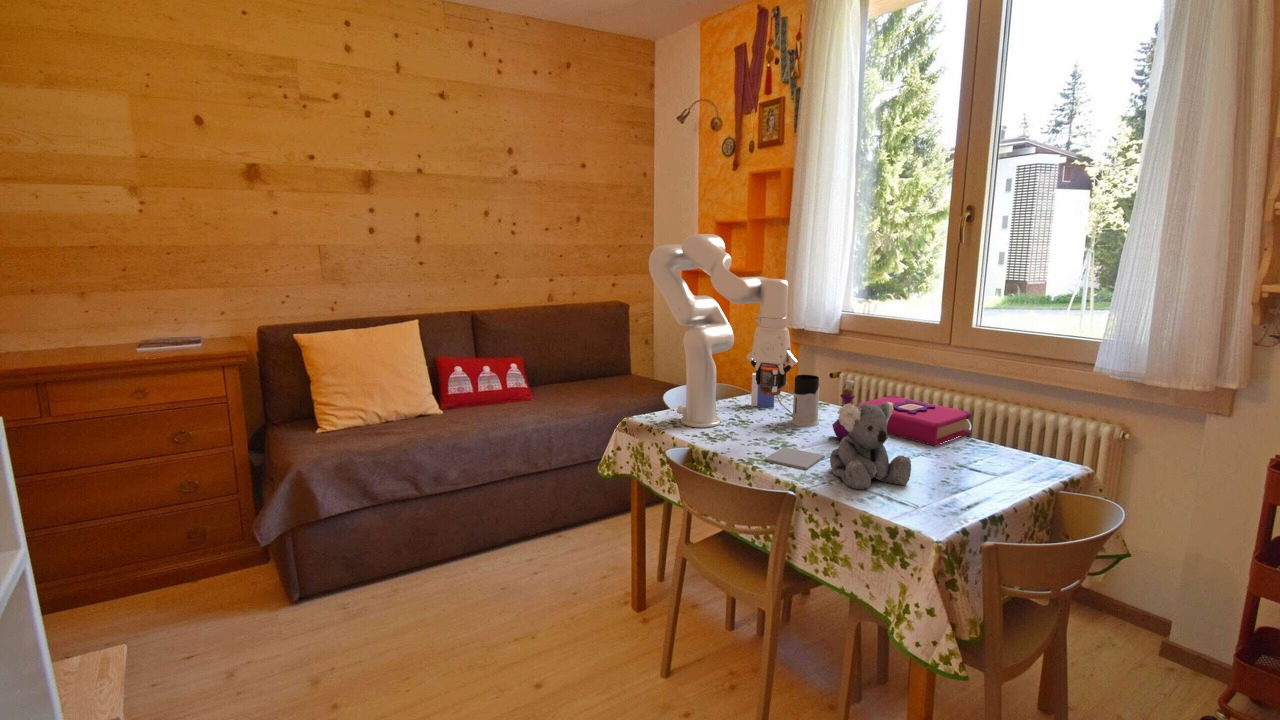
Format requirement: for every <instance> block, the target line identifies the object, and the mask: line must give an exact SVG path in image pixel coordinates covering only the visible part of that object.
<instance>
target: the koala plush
mask: <svg viewBox="0 0 1280 720" xmlns="http://www.w3.org/2000/svg"><path fill="white" fill-rule="evenodd" d="M893 409H894V408H893V403H890V402H888V401H887V402H883V403H882V404H881V405H879V406H876V405H873V404H869V405H868V404H863V405H860V406H856V404H853V403H852V402H851V403H850V404H849V403H848V404H846V405H844V404H843V405H842V407H839V409H838V411H837V412H836V413H837V414H838V417H837V420H839V422H841V423H840V424H841V425H843V426H844V427H845V429H846V430H847V431H848V433H849V434H848V435H847V436H846V437H844V438H843V439H842V440H841V441H840V443H839V445H838V448H835V449H833V450H832V451H831V454H830V456H829V463H830V464H829V465H830V469H831V472H832V473H833V476H836V477H839V478H841V481H842V482H843V483H844V484H845V486H848V487H850V488H852V489H855V488H856V489H855V490H858V489H860V488H861V489H860V490H864V489H863V488H866V489H868V488H869V487H871V484H872V483H871V482H872V479H875V478H876V479H875V480H877V479H878V480H879V481H880V480H882V481H881V482H884V481H886V482H885V483H887V482H888V484H893V483H894V485H896V484H901V485H902V486H904V485H907V484H908V482H909V481H910V478H911V473H912V460H911V459H910V457H909V456H905V455H897V456H895V457H894V458H893V459H892V460H891V461H890V460H889V455H888V451H887V449H886V447H885V445H884V444H885V442H886V441H887V439H888V433H887V430H886V429H887V424H888V420H889V418H890V416H891V415H892V411H893ZM889 461H890V462H889ZM873 477H874V478H873ZM901 485H900V486H901Z"/></svg>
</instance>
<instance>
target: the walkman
mask: <svg viewBox="0 0 1280 720" xmlns="http://www.w3.org/2000/svg"><path fill="white" fill-rule="evenodd" d="M750 383H751V396H750V397H751V401H750V402H751V405H750V407H751V406H759V407H758V408H774V407H775V395H764V394H762V393H760V384H759V385H758V384H757V381H756V372H753V373H752V374H751V382H750Z"/></svg>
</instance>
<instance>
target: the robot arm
mask: <svg viewBox="0 0 1280 720" xmlns="http://www.w3.org/2000/svg"><path fill="white" fill-rule="evenodd" d="M725 245H726V244H725V242H724V240H723V239H722V238H721V237H720V236H719V235H717V234H714V233H695V234H690V235H688V236H687V237H686V238H684V239H683V241H682V243H680V244H679V243H678V244H677V243H676V244H674V243H673V244H664V245H663V244H662V245H660V246H656V248H654V249H653V250H652V251H651V253H650V255H649V258H648V259H649V260H648V269H649V273H650V276H651V279H652V281H653V283H654V284H655V285H656V287H657V288H658V290H659V292H661V295H662V296H663V298H664V300H665V302H666V304H667V306H668V308H669V310H670V311H671V314H672V316H673V318H674V319H675V321H676V322H677V324H678V325H680V326H682V327H690V328H689V329H687V330H686V331H685V333H684V336H683V348H684V353H685V354H684V355H685V365H686V366H685V367H686V368H685V369H686V371H685V372H686V373H685V374H686V381H685V382H686V386H685V388H686V389H685V390H686V392H685V396H686V397H685V399H686V400H685V402H686V403H685V404H686V405H685V406H682V405H678V406H677V409H676V413H677V414H682V417H681V419H680V421H681V424H683V425H684V426H688V427H692V428H712V427H716V426H719V425H720V424H721V418H720V417H719V416H717V411H716V409H717V367H716V363H715V360H714V358H713V354H720V353H723V352H727V351H728V350H730V349H731V348H733V345H734V342H735V334H734V331H733V328H732V327H731V324H730V322H728V319H727V317H726V315H725V313H724V311H723V310H722V308H721V306H720V305H719V303H718V302H717V301H716V300H715V298H713V297H711V296H710V295H705V294H704V295H694V294H693V293H692V291H691V290H690V288H689V286H688V284H687V282H686V280H684V279H683V278H682V277H681V276H679V274H677V273H676V271H679V272H680V271H691V270H696V269H698V268H699V269H700V270H701V271H703V272H704V273H706V275H708V276H710V282H711V285H712V286H713V288H714V290H715V291H716V292H717V293H718V294H719V295H721V296H722V297H723V298H725V299H726V300H727V301H729V302H730V303H732V304H735V305H747V304H757V303H759V316H758V317H756V318H755V323H758V325H759V326H756V328H755V332H754V337H753V343H752V350H751V351H750V352H749V353H748V354H747V355H746V359H747V360H748V361H749V363H750V364H751V366H752V367H753V368H754V371H755V373H756V381H757V384H758V385H759V384H760V374H761V363H768V364H776V365H778V367H779V370H780V374H778V388H781V389H782V388H783V387H785V385H787V383H786V382H787V374H788V373H789V372H790V371H791V370H792V369H793V368H794V367H795V366H797V364H798V360H797V359H796V358H795V357H794V355H793V354H792V352H791V337H790V331H789V328H787V325H788V324H787V323H788V321H787V320H788V303H789V301H788V300H789V283H788V280H785V279H781V278H769V277H765V276H745V277H740V276H737V275H736V274H734V273H733V272H732V271H730V268H731V267H732V257H731V255H730V254H729V253H727V252H726V246H725ZM787 363H789V364H787Z"/></svg>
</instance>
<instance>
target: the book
mask: <svg viewBox="0 0 1280 720" xmlns="http://www.w3.org/2000/svg"><path fill="white" fill-rule="evenodd" d="M887 401H888V402H890V403H893V408H894V409H893V411H892V415H891V416H890V418H889V420H888V424H887V429H886V430H887V434H889V433H890V435H893V434H894V435H893V436H897V437H900V436H901V437H902V438H904V437H905V438H904V439H908V440H913V441H915V440H916V442H919V441H920V442H919V443H923V442H924V444H927V443H928V444H927V445H930V444H932V445H931V446H934V445H938V444H940V443H943V442H945V441H948V440H951V439H954V438H956V437H958V436H962V437H961V438H963V437H966V436H969V435H971V429H969V428H964V427H962V422H963V421H964V420H965V421H966V420H969V419H972V418H973V413H972V412H971V411H968V410H964V409H957V408H951V407H947V406H943V405H938V404H933V403H928V402H924V401H920V400H916V399H912V398H911V399H909V398H905V397H902V396H900V395H899V396H898V395H893V394H890V395H889V394H888V395H885V396H883V397H879V398H875V399H870V400H866V401H863V402H860V403H859V402H858V403H856V404H855V405H856V406H860V405H863V404H868V405H869V404H873V405H876V406H879V405H881V404H882V403H883V402H887ZM901 437H900V438H901ZM943 444H944V443H943ZM940 445H941V444H940ZM938 446H939V445H938Z"/></svg>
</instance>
